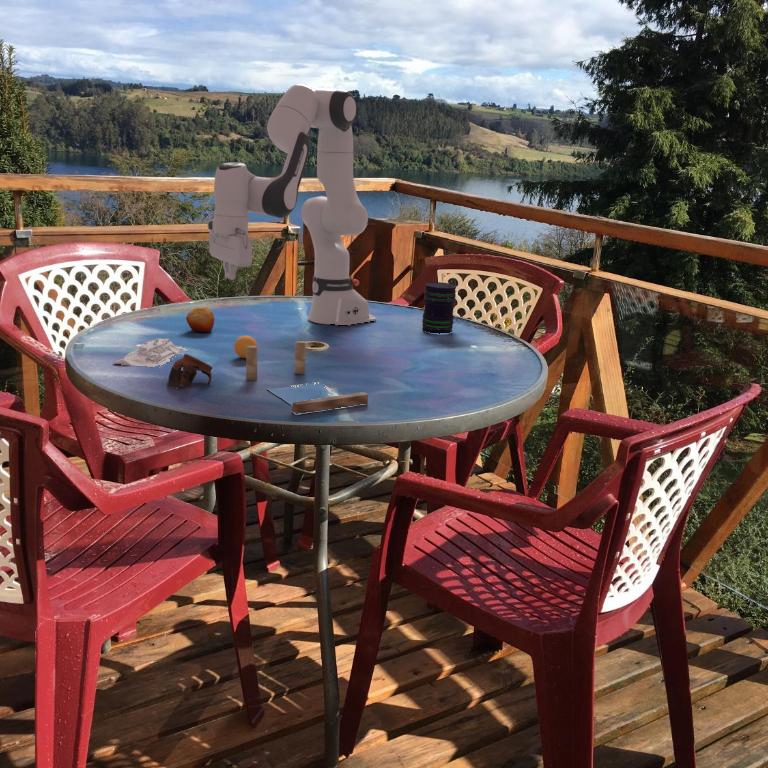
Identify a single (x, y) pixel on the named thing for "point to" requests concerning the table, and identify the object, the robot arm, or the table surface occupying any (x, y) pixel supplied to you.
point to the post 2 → (300, 357)
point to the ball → (243, 345)
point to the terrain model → (151, 353)
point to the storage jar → (438, 307)
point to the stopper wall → (330, 402)
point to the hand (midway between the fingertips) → (230, 278)
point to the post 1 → (251, 362)
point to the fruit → (200, 319)
